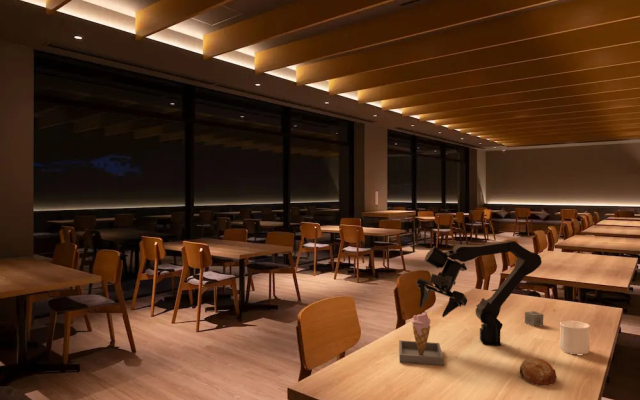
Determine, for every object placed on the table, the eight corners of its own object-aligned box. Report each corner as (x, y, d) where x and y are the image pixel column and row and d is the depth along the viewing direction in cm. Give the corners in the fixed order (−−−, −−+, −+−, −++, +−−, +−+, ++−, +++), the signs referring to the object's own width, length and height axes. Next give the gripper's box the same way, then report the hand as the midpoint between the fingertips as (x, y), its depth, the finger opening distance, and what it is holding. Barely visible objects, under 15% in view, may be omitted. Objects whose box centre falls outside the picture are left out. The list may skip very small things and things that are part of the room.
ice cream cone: (430, 359, 144) (431, 315, 144) (411, 357, 146) (411, 314, 145) (429, 352, 151) (430, 309, 150) (411, 350, 152) (411, 308, 152)
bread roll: (518, 383, 136) (508, 361, 135) (546, 369, 137) (536, 346, 136) (536, 398, 126) (526, 374, 126) (567, 382, 127) (556, 358, 126)
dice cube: (543, 326, 184) (543, 314, 183) (533, 327, 182) (534, 315, 182) (533, 322, 188) (534, 311, 188) (524, 323, 187) (524, 312, 187)
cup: (586, 347, 158) (586, 321, 158) (593, 357, 148) (594, 329, 148) (556, 344, 161) (557, 318, 161) (562, 354, 151) (562, 326, 151)
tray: (438, 350, 154) (439, 343, 154) (443, 365, 140) (443, 358, 140) (399, 347, 156) (399, 340, 156) (399, 362, 142) (399, 354, 142)
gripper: (420, 258, 163) (401, 294, 158) (466, 273, 150) (448, 313, 145) (429, 271, 170) (412, 306, 165) (474, 286, 158) (457, 324, 153)
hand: (431, 312), depth 157 cm, fingers open, 9 cm apart
